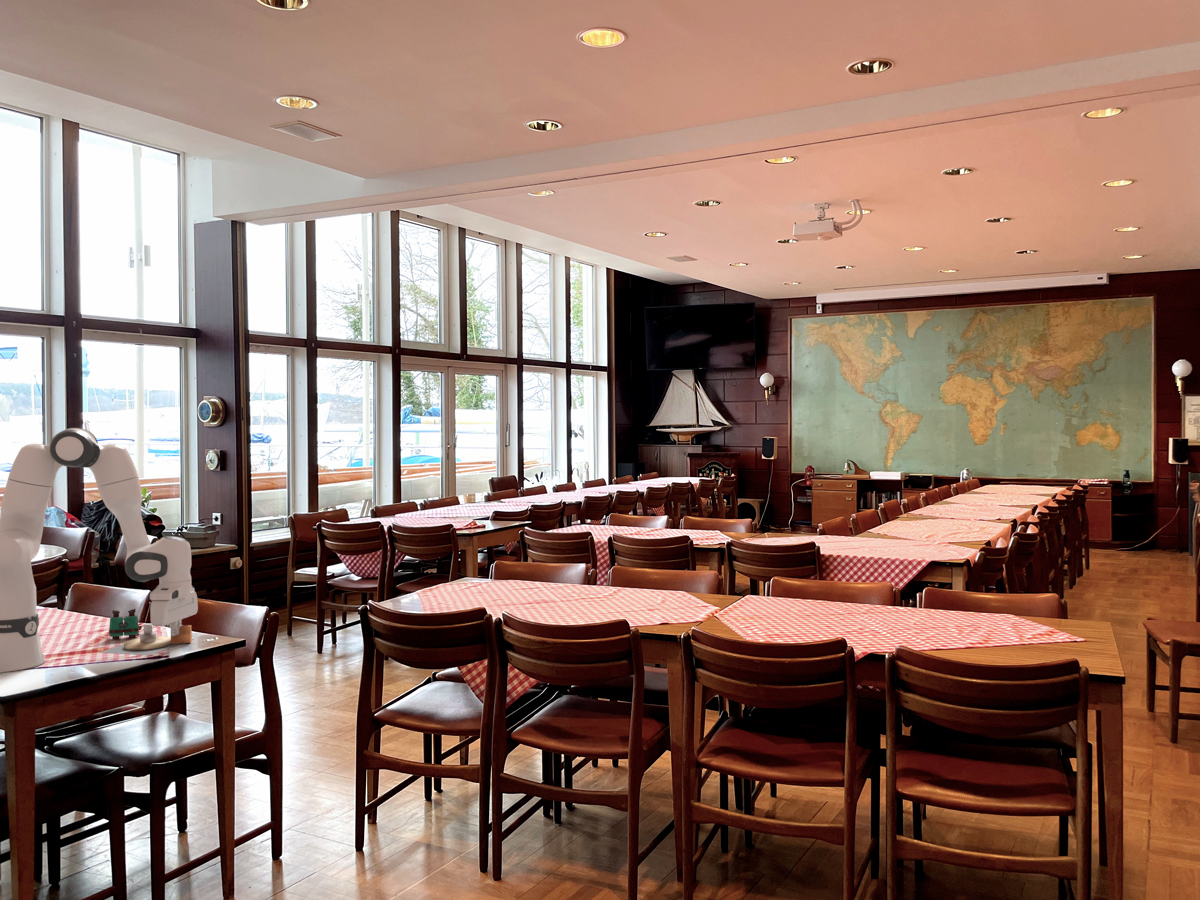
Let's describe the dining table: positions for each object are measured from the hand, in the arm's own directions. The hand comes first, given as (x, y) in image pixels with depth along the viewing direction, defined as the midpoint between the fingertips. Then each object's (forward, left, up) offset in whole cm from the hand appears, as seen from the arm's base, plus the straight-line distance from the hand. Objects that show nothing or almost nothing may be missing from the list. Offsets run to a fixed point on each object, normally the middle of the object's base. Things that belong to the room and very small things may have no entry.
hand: (175, 635), depth 270 cm
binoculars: (-24, +7, -5) cm, 25 cm away
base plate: (-8, -2, -5) cm, 9 cm away
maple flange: (-5, -1, -3) cm, 6 cm away
